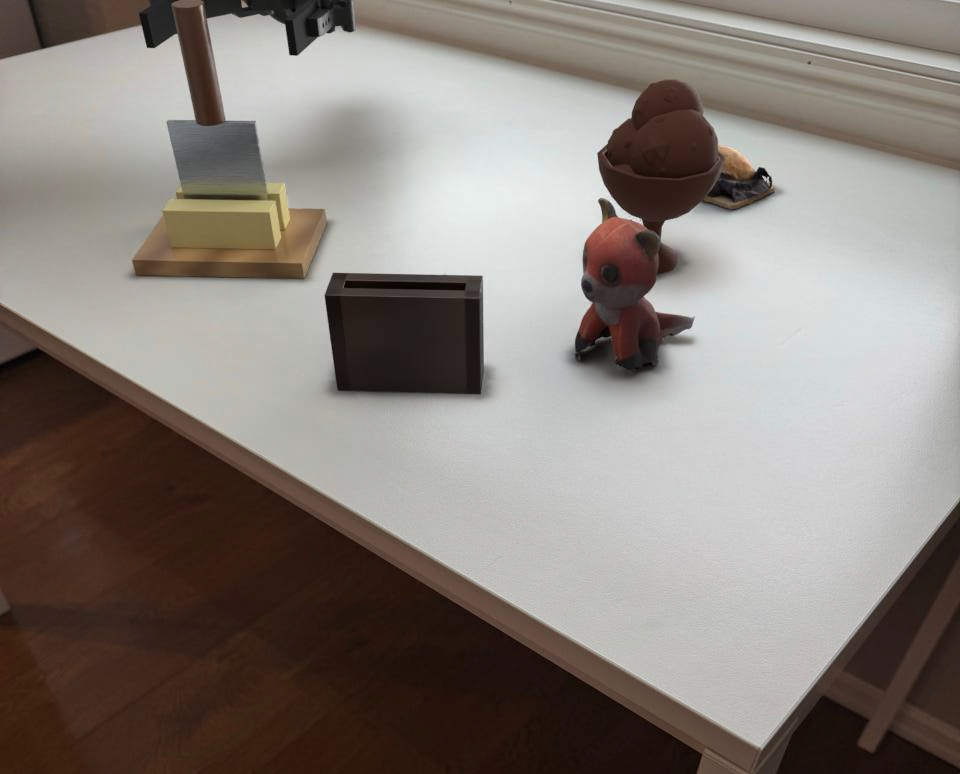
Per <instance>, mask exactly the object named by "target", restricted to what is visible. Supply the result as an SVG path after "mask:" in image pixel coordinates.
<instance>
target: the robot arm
mask: <svg viewBox="0 0 960 774" xmlns="http://www.w3.org/2000/svg"><path fill="white" fill-rule="evenodd" d="M176 1H179V0H148V3H149V6H148V7H147V8H145V9H143V10H142V11H140V12H139V13H138V16H139V21H140V25H141V29H142V33H143V37H144V43H145V46H146V49H156V48H157V47H158V46H160V45H162V44H163V43H164V42H166V41H167V40H169V39H170V38H172V37H173V36H174V35H178V34H177V29H176V24H175V19H174V14H173V10H172V3H174V2H176ZM201 1H203V2H204V7H205V12H206V17H207V19H212V18H216V17H217V18H218V17H222V16H226V15H227V16H228V15H233V16H234V17H237V18H239V19H242V18H246V17H251V16H256V15H259V16H261V17H262V16H263V17H266V16H270V18H272V19H274V20H275V21H277V23H280V24H283V25H285V35H286V40H287V42H286V43H287V48H288V55H289V56H293V57H295V56H296V57H298V56H299V55H300V54H301V53H302V52H303V51H305V50H306V49H307V48H308V47H309V46H310V45H311V44H312V43H313V42H315V40H317V39H318V38H321V37H323V36H324V35H326V34H332V33H335V32H336V27H340V28H341V29H342V31H343V32H346V33H353V32H355V31H356V30H357V27H356V14H355V4H354V0H201ZM242 2H243V3H244V4H245V5H246V6H244V7H243V5H242V4H243V3H242Z"/></svg>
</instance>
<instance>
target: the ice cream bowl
mask: <svg viewBox="0 0 960 774" xmlns="http://www.w3.org/2000/svg"><path fill="white" fill-rule="evenodd" d="M718 145H719V139H718V135H717V133H716V131H715V128H714V127H713V126H712V124H711V123H710V122H709V121H708V120H707V119H706V117H705V116H704V107H703V102H702V99H701V98H700V95H699V94H698V92H697V90H696V89H695V88H693V86H691V85H690V84H689V83H687V81H686V82H685V81H682V80H680V79H676V78H671V79H669V78H667V79H666V78H665V79H662V80H659V81H656V82H652V83H650V84H649V85H648V87H647V88H645V89H644V90H642V92H641V94H640V95H639V96H638V97H637V99H636V100H635V103H634V105H633V108H632V110H631V116H630V117H629V118H627V119H626V120H624V122H622V123H621V124H620V125H619V126H618V127H616V128H614V129H613V130H612V133H611V135H610V137H609V138H608V140H607V144H605V145H604V146H603V147H601V149H600V150H599V151H597V153H596V154H597V163H598V164H597V165H598V171H599V174H600V177H601V180H602V182H603V185H604V187H605V188H606V190H607V192H608V193H609V195H610V196H611V197H612V199H613V200H614V202H616V204H617V205H618V207H620V209H621V210H622V211H624V212H625V213H627V214H628V215H630V216H632V217H635V218H637V219H640V220H641V222H642V225H643V226H645V227H646V228H647V229H648V230H651V231H653V232H655V233H656V234H657V235H658V236H659V237H660V239H661V241H660V249H659V251H658V257H659V265H658V270H657V275H659V274H663V273H668V272H671V271H674V269H675V268H676V267H677V265H678V264H679V257H678V255H677V254H676V252H675V251H674V249H673V248H671V247H670V246H668V245H667V244H664V243H663V242H662V233H663V231H662V230H663V226H664V224H665V222H666V221H669V220H674V219H678V218H681V217H682V216H684V215H686V214H688V213H690V212H691V211H692V210H694V209H695V208H696V207H697V206H699V205H700V204H701V203H702V202H703V201H704V198H705V197H706V196H707V194H708V193H709V192H710V191H711V189H712V188H713V186H714V185H715V183H716V181H717V180H718V178H719V177H720V174H721V171H722V169H723V166H724V163H725V160H726V158H725V157H724V156H723V155H722V154H721V153H720V152H719V151H718Z"/></svg>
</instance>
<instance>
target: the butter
mask: <svg viewBox="0 0 960 774" xmlns="http://www.w3.org/2000/svg"><path fill="white" fill-rule="evenodd" d="M266 186H267V192H268V198H269V201H263V200H199V199H184V197H183V192H182V188H181V184H180V185H179V186H178V188H177V189H176V191H175V196H176V198H170V199H169V200H168V202H166V204H165V206H164V207H163V208H162V210H161V211H162V216H164V220H165V224H166V228H167V232H168V236H169V240H170V244H171V247H172V248H218V249H272V250H275V249H276V248H277V246H278V244H279V241H280V239H281V232H280V230H285V229H286V226H287V224H288V222H289V220H290V215H289V208H290V207H289V202H288V196H287V189H286V184H285V182H266Z"/></svg>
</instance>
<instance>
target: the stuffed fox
mask: <svg viewBox="0 0 960 774" xmlns="http://www.w3.org/2000/svg"><path fill="white" fill-rule="evenodd" d="M597 202H598V204H599V206H600V210H601V223H600V224H599V225H597V226H596V227H595V228H594V230H593V231H592V232H591V233H590V235H589V236H588V237H587V238H586V240H585V242H584V245H583V250H582V271H583V272H582V276H581V280H580V286H581V289H582V290H581V291H582V293H583V295H584V297H585V298H586V300H588V301H589V302H591V305H590V306H589V307H588V309H587V310H586V312H585V313H584V315H583V316H582V318H581V321H580V324H579V328H578V330H577V332H576V335H575V338H574V348H575V349H574V357H575V360H576V361H578V362H579V361H581V353H582V351H585V350H586V349H587V348H588V347H589V348H591V347H595V346H597V344H596V341H597V340H599V339H601V338H602V339H607V338H611V349H612V350H613V353H614V356H615V359H614V364H615V365H616V366H618V368H623V370H625V371H627V372H634V371H638V370H641V369H645V368H649V367H654V366H656V365H657V364H658V363H659V362H660V360H659V355H658V353H659V346H660V344H661V343H662V342H663V340H665V339H667V338H668V337H675V336H676V335H679V334H680V333H682V332H684V331H686V330H691V329H692V327H693V324H694V321H695V319H696V315H695V316H692V317H691V316H686V315H682V314H675V313H674V314H673V313H665V312H660V311H656V310H655V307H654V306H653V304H652V303H651V302H650V301H649V300H648V299H647V298H646V297H645V296H646V295H647V294H648V293H649V292H651V290H652V289H653V288H654V286H655V284H656V283H657V278H658V277H657V275H658V274H657V270H658V265H659V257H658V251H659V249H660V241H661V242H662V238H661V239H660V237H659V236H658V235H657V234H656V233H655V232H653V231H651V230H648V229H647V228H646V227H645V226H643V223H640V222H638V221H636V220H635V221H634V220H633V219H629V218H623V217H619V216H618V215H617V211H616V209H615V207H614V205H613V203H612V202H611V201H609V200H608V199H606V198H605V197H604V198H603V197H600V198H598V200H597Z"/></svg>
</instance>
